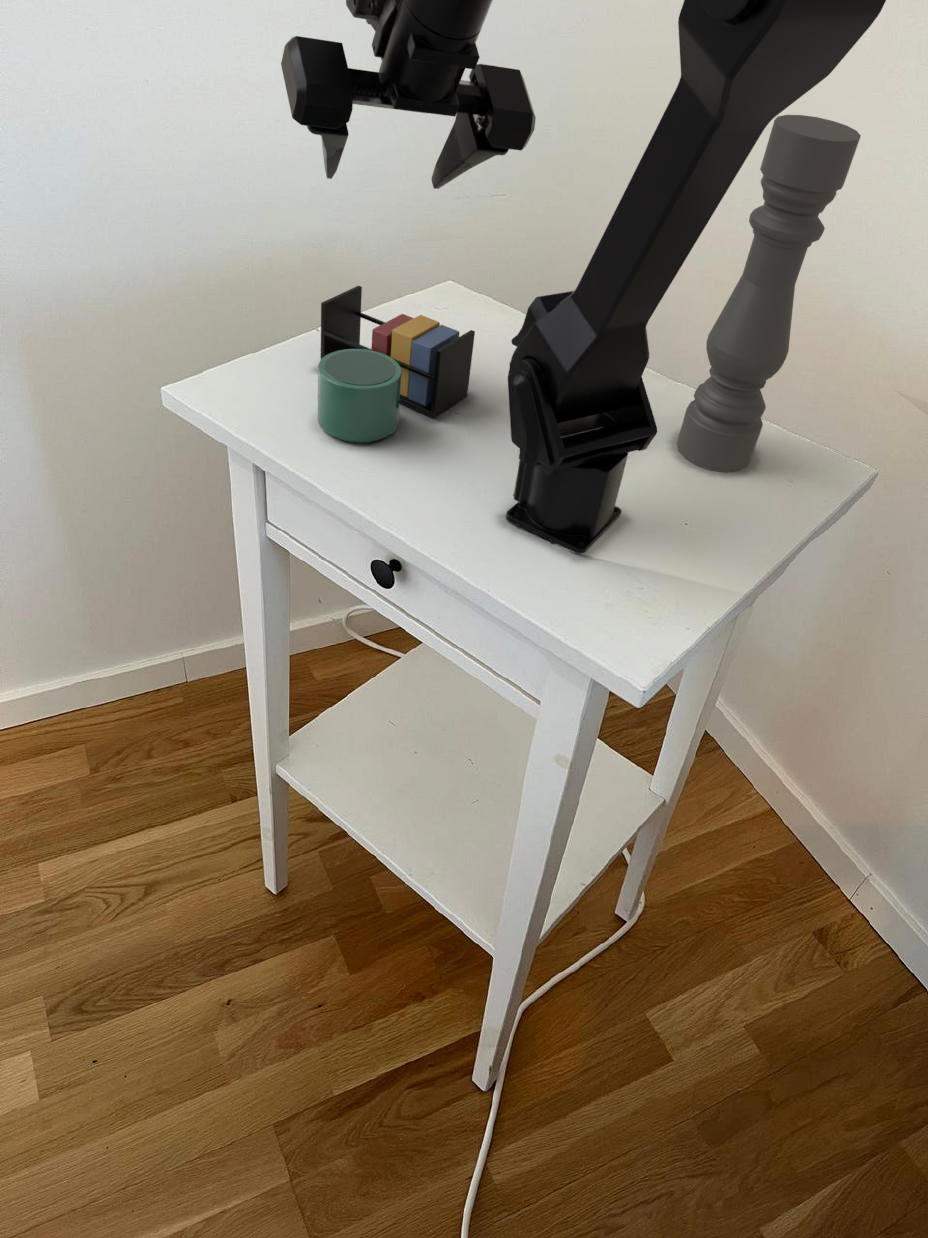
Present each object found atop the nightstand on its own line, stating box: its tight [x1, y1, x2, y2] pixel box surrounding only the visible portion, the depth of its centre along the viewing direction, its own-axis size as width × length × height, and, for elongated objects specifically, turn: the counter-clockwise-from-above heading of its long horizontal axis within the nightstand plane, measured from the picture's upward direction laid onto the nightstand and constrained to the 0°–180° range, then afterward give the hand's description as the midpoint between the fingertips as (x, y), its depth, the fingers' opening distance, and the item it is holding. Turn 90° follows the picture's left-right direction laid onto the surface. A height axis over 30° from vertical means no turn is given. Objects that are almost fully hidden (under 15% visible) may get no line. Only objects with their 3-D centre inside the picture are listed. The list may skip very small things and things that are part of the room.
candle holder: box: [676, 114, 862, 473], centre depth 73 cm, size 6×6×25 cm
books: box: [370, 313, 461, 406], centre depth 81 cm, size 6×4×5 cm
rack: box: [320, 285, 476, 420], centre depth 82 cm, size 12×5×6 cm, turn 57°
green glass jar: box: [317, 349, 402, 444], centre depth 77 cm, size 6×6×5 cm
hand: (382, 179), depth 80 cm, fingers open, 9 cm apart
